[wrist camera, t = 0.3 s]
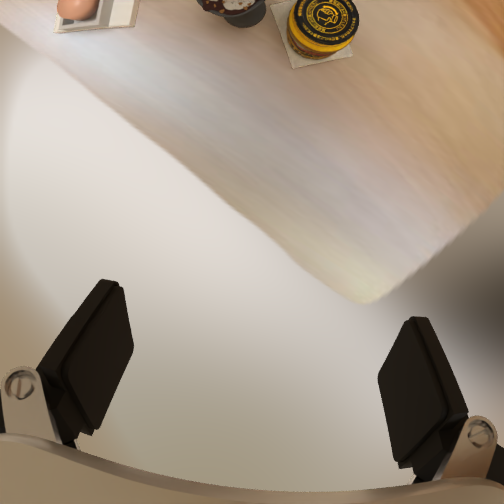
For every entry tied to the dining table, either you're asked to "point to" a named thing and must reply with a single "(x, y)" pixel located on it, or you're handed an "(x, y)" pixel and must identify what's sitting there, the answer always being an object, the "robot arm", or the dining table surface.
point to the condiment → (316, 29)
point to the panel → (102, 17)
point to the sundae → (236, 11)
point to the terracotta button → (77, 9)
